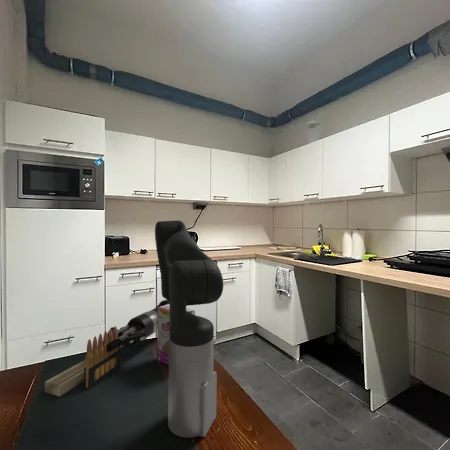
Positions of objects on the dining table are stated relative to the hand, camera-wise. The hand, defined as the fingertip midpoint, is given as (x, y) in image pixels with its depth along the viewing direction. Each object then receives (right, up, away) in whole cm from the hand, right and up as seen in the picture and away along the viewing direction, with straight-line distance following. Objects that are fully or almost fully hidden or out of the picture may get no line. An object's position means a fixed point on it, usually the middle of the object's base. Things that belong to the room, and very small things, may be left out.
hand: (104, 347), depth 69 cm
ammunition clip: (0, -8, 0) cm, 8 cm away
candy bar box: (+17, -9, +7) cm, 21 cm away
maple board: (-6, -8, 0) cm, 10 cm away
